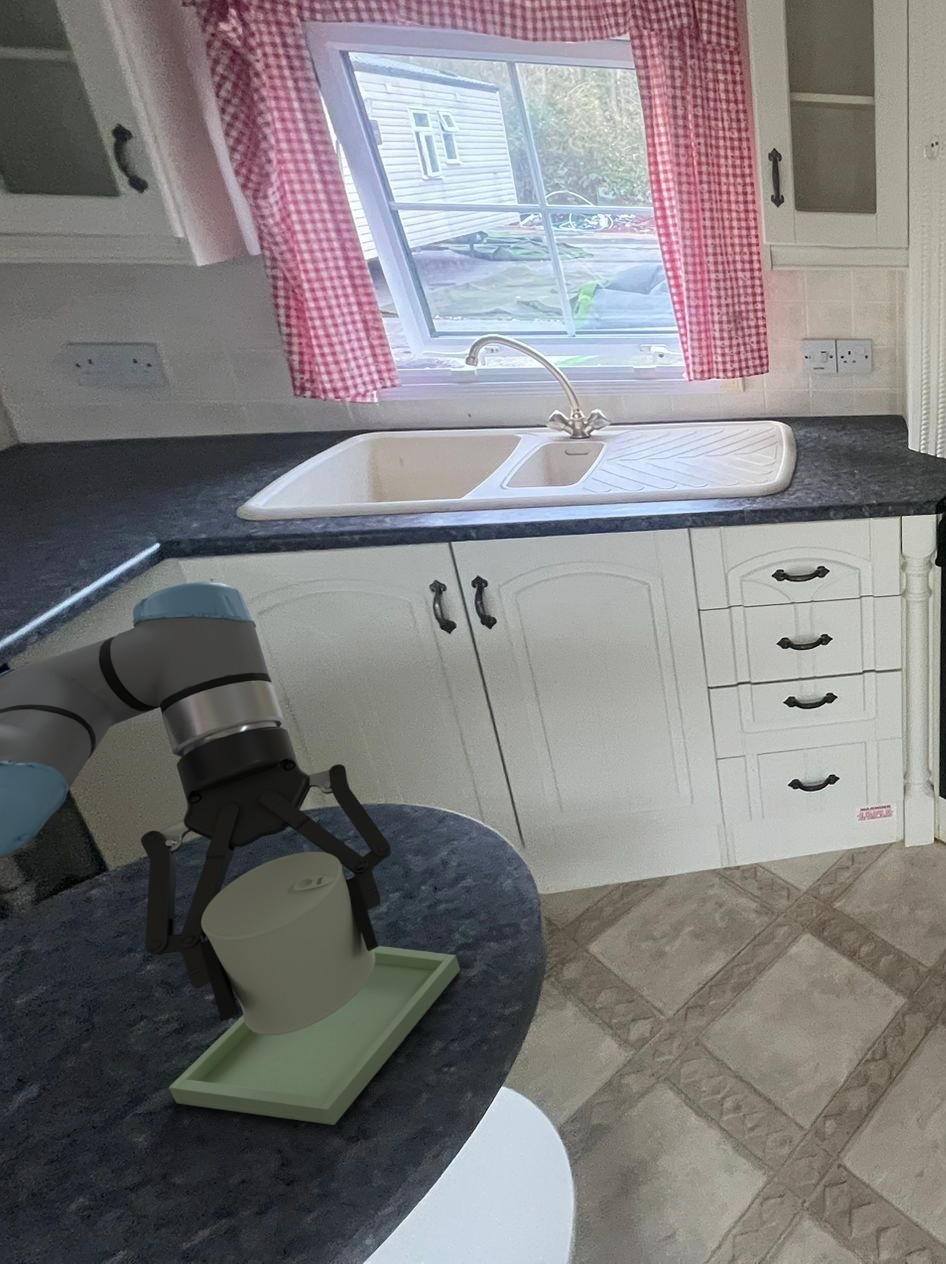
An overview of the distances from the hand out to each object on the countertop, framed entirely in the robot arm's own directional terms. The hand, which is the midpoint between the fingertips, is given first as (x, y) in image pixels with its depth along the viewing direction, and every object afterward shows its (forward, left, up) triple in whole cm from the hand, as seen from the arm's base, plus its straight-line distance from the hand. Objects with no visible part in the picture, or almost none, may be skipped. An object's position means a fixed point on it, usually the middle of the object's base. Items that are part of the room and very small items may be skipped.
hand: (305, 981), depth 71 cm
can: (-3, +1, -4) cm, 5 cm away
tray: (-3, +1, -10) cm, 10 cm away
